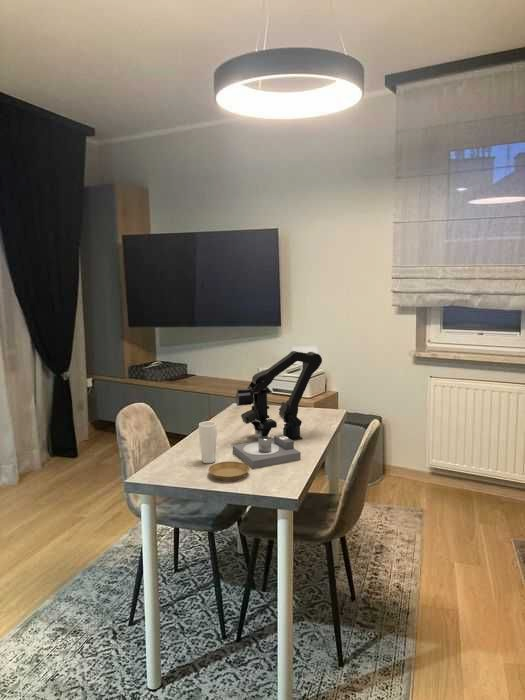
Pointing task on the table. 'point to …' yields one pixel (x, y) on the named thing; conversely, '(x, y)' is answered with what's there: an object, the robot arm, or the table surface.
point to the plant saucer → (229, 470)
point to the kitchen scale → (279, 454)
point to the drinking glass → (208, 441)
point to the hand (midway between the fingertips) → (261, 439)
